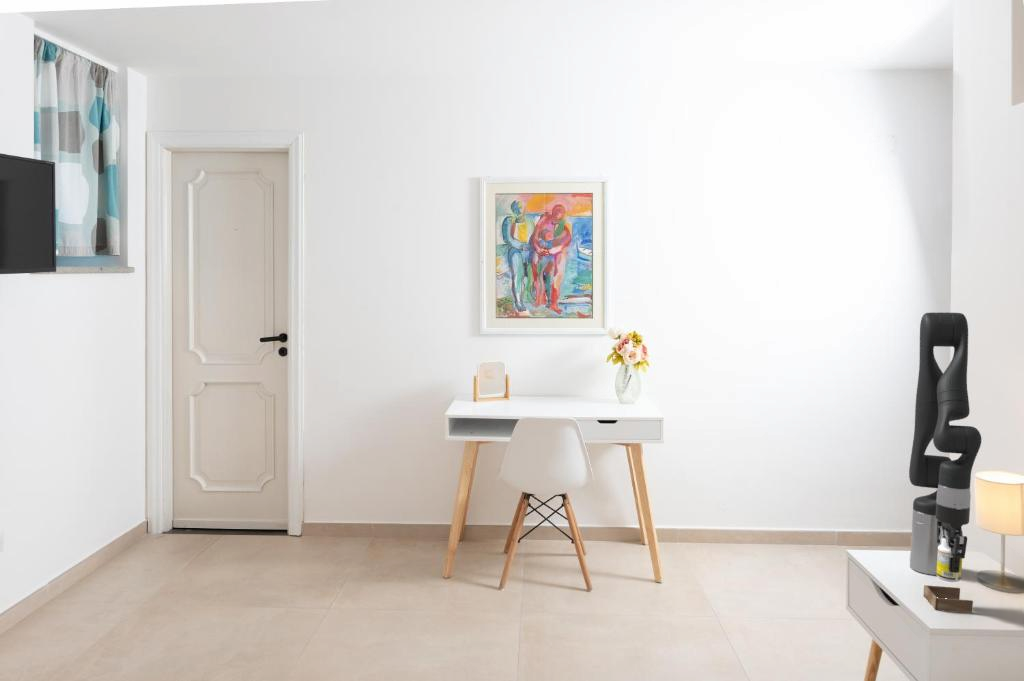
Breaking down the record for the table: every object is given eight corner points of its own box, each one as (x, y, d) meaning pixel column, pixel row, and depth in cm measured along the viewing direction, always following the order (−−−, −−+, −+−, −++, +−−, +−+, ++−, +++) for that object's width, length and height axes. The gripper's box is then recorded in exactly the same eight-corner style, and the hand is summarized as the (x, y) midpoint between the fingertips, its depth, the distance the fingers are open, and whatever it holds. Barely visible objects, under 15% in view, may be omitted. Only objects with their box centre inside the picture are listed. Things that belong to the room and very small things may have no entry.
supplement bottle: (951, 574, 205) (953, 536, 204) (965, 582, 199) (968, 543, 198) (931, 574, 204) (933, 536, 203) (945, 583, 199) (947, 543, 198)
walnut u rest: (923, 596, 207) (924, 585, 207) (958, 598, 206) (959, 587, 206) (935, 610, 199) (936, 598, 199) (972, 612, 197) (972, 601, 197)
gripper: (927, 494, 208) (923, 556, 209) (947, 510, 194) (943, 576, 195) (958, 496, 207) (954, 558, 208) (980, 512, 192) (976, 579, 194)
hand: (949, 567), depth 201 cm, fingers closed on supplement bottle, 5 cm apart
